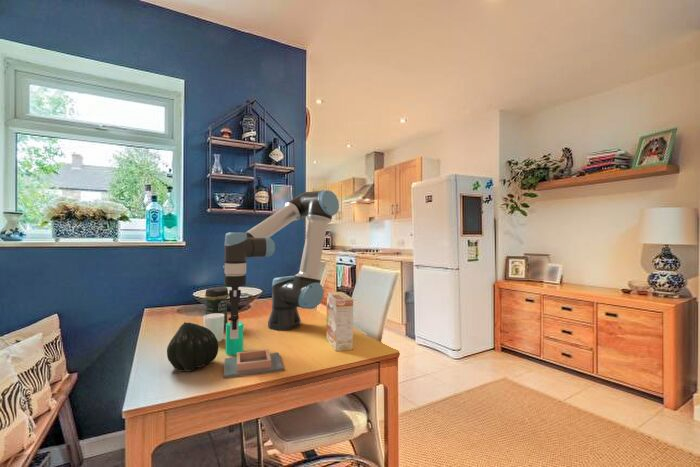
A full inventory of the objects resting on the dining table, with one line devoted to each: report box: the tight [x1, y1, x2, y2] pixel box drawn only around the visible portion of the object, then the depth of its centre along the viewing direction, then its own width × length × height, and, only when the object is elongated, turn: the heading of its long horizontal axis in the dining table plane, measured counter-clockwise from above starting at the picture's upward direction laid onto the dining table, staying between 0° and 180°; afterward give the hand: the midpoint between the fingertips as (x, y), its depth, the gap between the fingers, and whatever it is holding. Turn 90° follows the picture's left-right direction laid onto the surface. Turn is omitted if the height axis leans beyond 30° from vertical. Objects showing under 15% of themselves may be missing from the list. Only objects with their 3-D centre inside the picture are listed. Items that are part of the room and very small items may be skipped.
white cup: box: [202, 313, 225, 343], centre depth 133 cm, size 8×8×10 cm
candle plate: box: [222, 348, 285, 379], centre depth 108 cm, size 18×14×3 cm
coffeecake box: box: [325, 291, 354, 352], centre depth 130 cm, size 15×7×20 cm, turn 18°
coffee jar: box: [204, 286, 229, 329], centre depth 150 cm, size 10×8×19 cm
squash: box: [166, 321, 219, 372], centre depth 107 cm, size 14×15×15 cm
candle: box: [225, 321, 244, 356], centre depth 120 cm, size 6×6×12 cm
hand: (234, 332), depth 120 cm, fingers open, 13 cm apart
